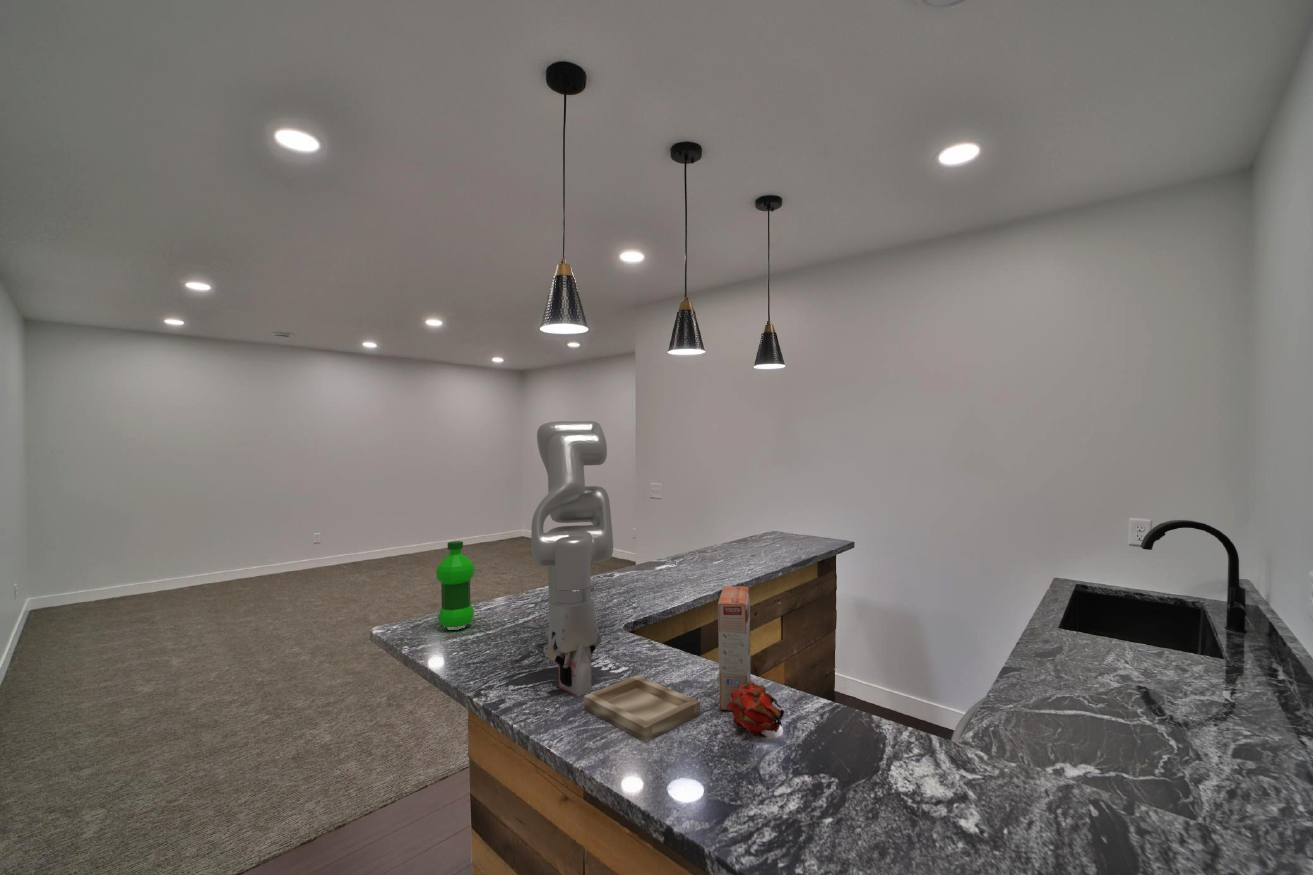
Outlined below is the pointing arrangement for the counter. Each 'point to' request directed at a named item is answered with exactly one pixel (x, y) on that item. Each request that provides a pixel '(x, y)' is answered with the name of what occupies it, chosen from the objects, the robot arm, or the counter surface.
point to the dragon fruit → (755, 709)
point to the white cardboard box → (578, 673)
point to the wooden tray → (642, 707)
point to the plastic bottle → (455, 587)
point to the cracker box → (733, 641)
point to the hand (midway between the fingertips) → (574, 680)
